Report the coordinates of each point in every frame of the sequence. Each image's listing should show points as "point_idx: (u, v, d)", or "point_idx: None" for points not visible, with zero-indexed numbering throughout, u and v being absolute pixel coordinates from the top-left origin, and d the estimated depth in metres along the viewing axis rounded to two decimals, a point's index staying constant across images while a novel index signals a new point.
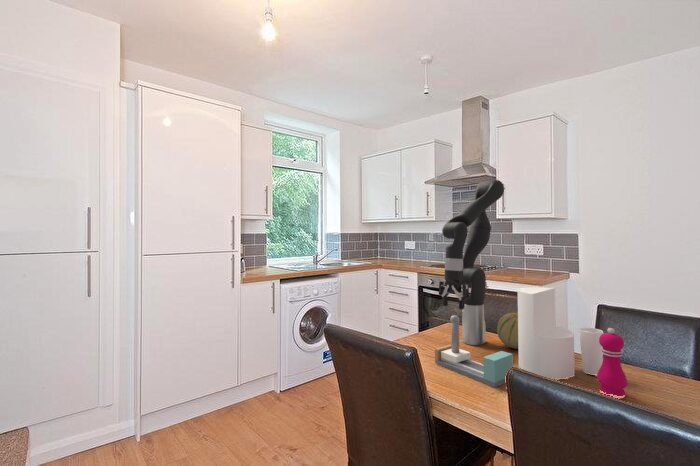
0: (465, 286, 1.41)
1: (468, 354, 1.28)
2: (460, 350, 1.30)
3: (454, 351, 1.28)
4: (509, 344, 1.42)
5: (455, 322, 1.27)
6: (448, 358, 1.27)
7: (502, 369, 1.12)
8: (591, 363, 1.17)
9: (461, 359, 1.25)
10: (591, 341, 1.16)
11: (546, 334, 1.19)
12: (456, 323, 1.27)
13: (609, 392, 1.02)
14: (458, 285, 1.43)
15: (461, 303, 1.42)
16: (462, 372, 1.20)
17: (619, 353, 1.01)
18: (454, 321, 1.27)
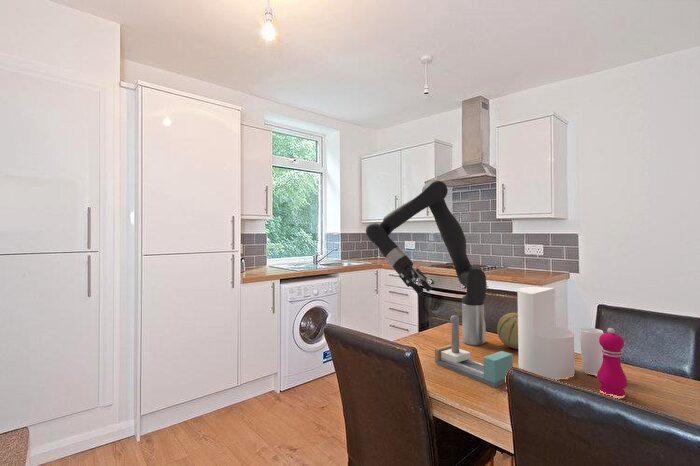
0: (400, 275, 1.35)
1: (468, 354, 1.28)
2: (460, 350, 1.30)
3: (454, 351, 1.28)
4: (509, 344, 1.42)
5: (455, 322, 1.27)
6: (448, 358, 1.27)
7: (502, 369, 1.12)
8: (591, 363, 1.17)
9: (461, 359, 1.25)
10: (591, 341, 1.16)
11: (546, 334, 1.19)
12: (456, 323, 1.27)
13: (609, 392, 1.02)
14: None
15: None
16: (462, 372, 1.20)
17: (619, 353, 1.01)
18: (454, 321, 1.27)
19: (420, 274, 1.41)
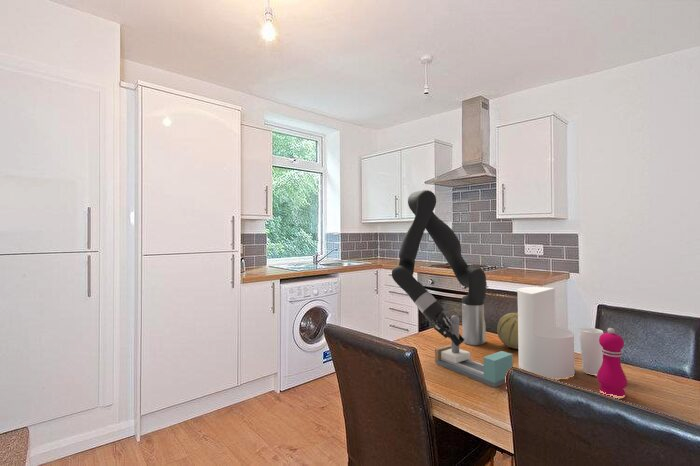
0: (436, 328, 1.27)
1: (468, 354, 1.28)
2: (460, 350, 1.30)
3: (454, 351, 1.28)
4: (509, 344, 1.42)
5: (456, 322, 1.27)
6: (448, 358, 1.27)
7: (502, 369, 1.12)
8: (591, 363, 1.17)
9: (461, 359, 1.25)
10: (591, 341, 1.16)
11: (546, 334, 1.19)
12: (456, 323, 1.27)
13: (609, 392, 1.02)
14: None
15: (452, 340, 1.27)
16: (462, 372, 1.20)
17: (619, 353, 1.01)
18: (454, 321, 1.27)
19: None
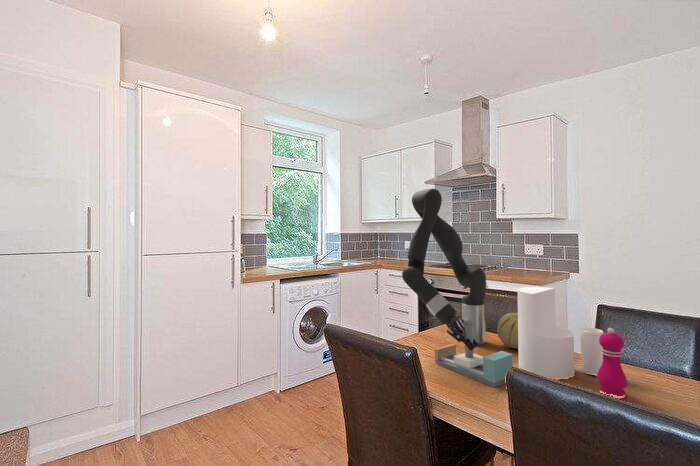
0: (449, 332, 1.22)
1: (482, 359, 1.22)
2: (474, 355, 1.25)
3: (468, 356, 1.23)
4: (509, 344, 1.42)
5: (469, 326, 1.22)
6: (462, 363, 1.22)
7: (502, 369, 1.12)
8: (591, 363, 1.17)
9: (475, 364, 1.20)
10: (591, 341, 1.16)
11: (546, 334, 1.19)
12: (470, 327, 1.22)
13: (609, 392, 1.02)
14: None
15: (466, 344, 1.22)
16: (462, 372, 1.20)
17: (619, 353, 1.01)
18: (468, 324, 1.22)
19: None
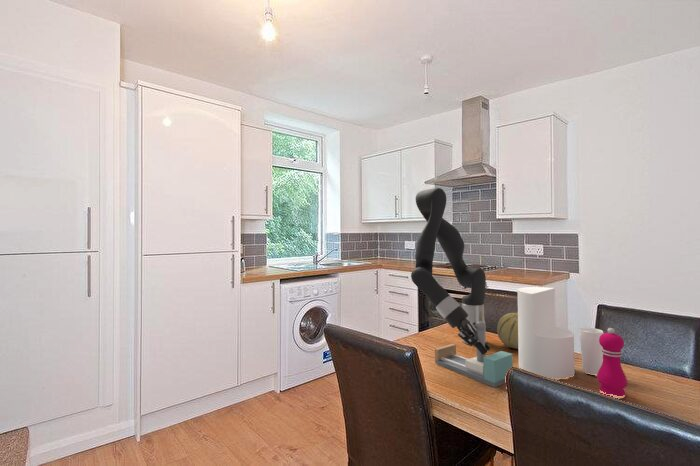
0: (460, 335, 1.17)
1: None
2: None
3: (480, 360, 1.19)
4: (509, 344, 1.42)
5: (481, 329, 1.18)
6: (473, 368, 1.17)
7: (502, 369, 1.12)
8: (591, 363, 1.17)
9: None
10: (591, 341, 1.16)
11: (546, 334, 1.19)
12: (482, 330, 1.18)
13: (609, 392, 1.02)
14: None
15: (478, 348, 1.18)
16: (462, 372, 1.20)
17: (619, 353, 1.01)
18: (480, 328, 1.18)
19: None
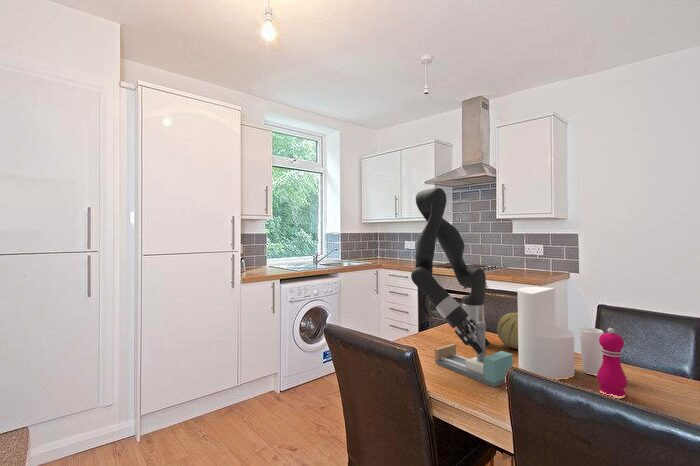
0: (456, 331, 1.18)
1: None
2: None
3: (480, 360, 1.18)
4: (509, 344, 1.42)
5: (482, 329, 1.18)
6: (474, 368, 1.17)
7: (502, 369, 1.12)
8: (591, 363, 1.17)
9: None
10: (591, 341, 1.16)
11: (546, 334, 1.19)
12: (482, 330, 1.18)
13: (609, 392, 1.02)
14: None
15: None
16: (462, 372, 1.20)
17: (619, 353, 1.01)
18: (480, 328, 1.18)
19: None
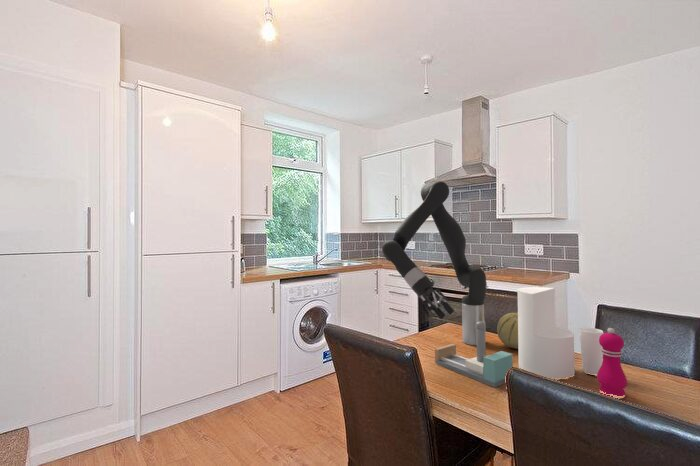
0: (421, 298, 1.25)
1: None
2: None
3: (480, 360, 1.18)
4: (509, 344, 1.42)
5: (482, 329, 1.18)
6: (474, 368, 1.17)
7: (502, 369, 1.12)
8: (591, 363, 1.17)
9: None
10: (591, 341, 1.16)
11: (546, 334, 1.19)
12: (482, 330, 1.18)
13: (609, 392, 1.02)
14: None
15: (436, 313, 1.24)
16: (462, 372, 1.20)
17: (619, 353, 1.01)
18: (480, 328, 1.18)
19: (441, 296, 1.31)
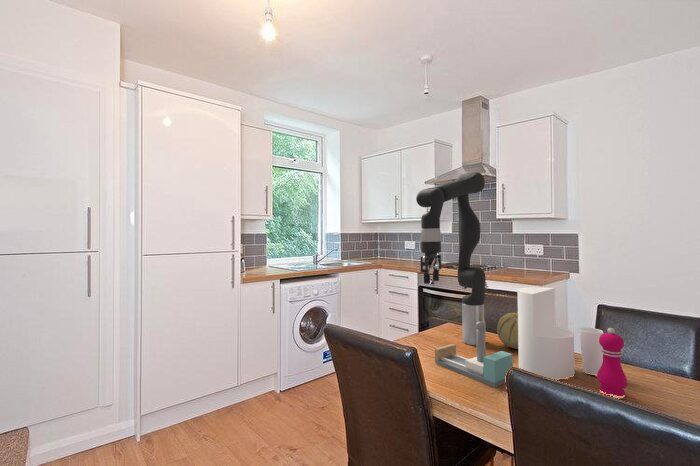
0: (421, 258, 1.29)
1: None
2: None
3: (480, 360, 1.18)
4: (509, 344, 1.42)
5: (482, 329, 1.18)
6: (474, 368, 1.17)
7: (502, 369, 1.12)
8: (591, 363, 1.17)
9: None
10: (591, 341, 1.16)
11: (546, 334, 1.19)
12: (482, 330, 1.18)
13: (609, 392, 1.02)
14: None
15: (424, 277, 1.31)
16: (462, 372, 1.20)
17: (619, 353, 1.01)
18: (480, 328, 1.18)
19: (438, 263, 1.36)
